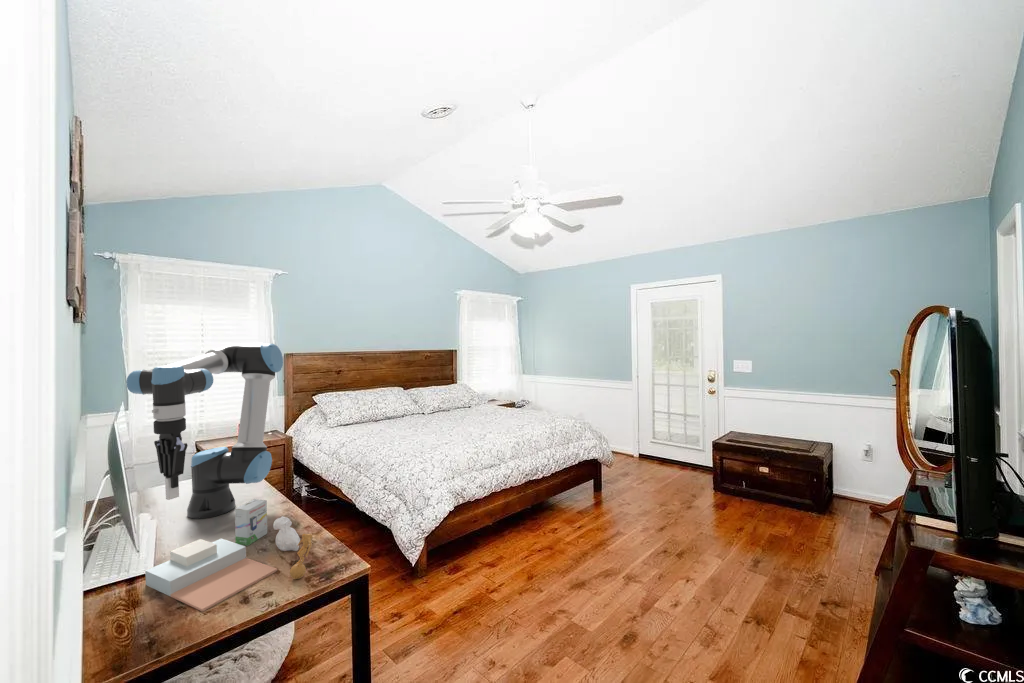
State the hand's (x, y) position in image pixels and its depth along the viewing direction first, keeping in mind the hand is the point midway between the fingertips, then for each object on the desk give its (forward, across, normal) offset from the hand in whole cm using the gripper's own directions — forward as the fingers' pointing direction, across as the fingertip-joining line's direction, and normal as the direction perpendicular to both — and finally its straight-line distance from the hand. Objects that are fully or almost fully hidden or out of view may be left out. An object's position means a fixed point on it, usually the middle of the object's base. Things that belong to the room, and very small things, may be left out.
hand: (172, 497), depth 131 cm
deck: (+19, +12, 0) cm, 23 cm away
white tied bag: (+20, +23, +20) cm, 36 cm away
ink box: (+20, +7, +19) cm, 28 cm away
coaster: (+15, +10, 0) cm, 18 cm away
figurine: (+20, +41, +11) cm, 47 cm away
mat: (+19, +25, 0) cm, 32 cm away
